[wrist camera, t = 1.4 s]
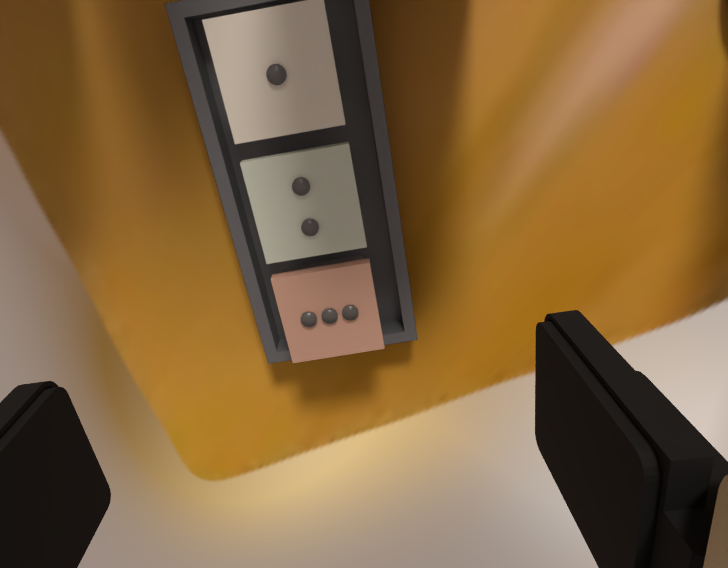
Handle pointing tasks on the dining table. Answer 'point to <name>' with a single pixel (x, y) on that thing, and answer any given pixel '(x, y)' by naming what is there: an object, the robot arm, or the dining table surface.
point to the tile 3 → (328, 308)
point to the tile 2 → (305, 202)
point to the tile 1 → (276, 70)
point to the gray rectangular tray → (360, 129)
